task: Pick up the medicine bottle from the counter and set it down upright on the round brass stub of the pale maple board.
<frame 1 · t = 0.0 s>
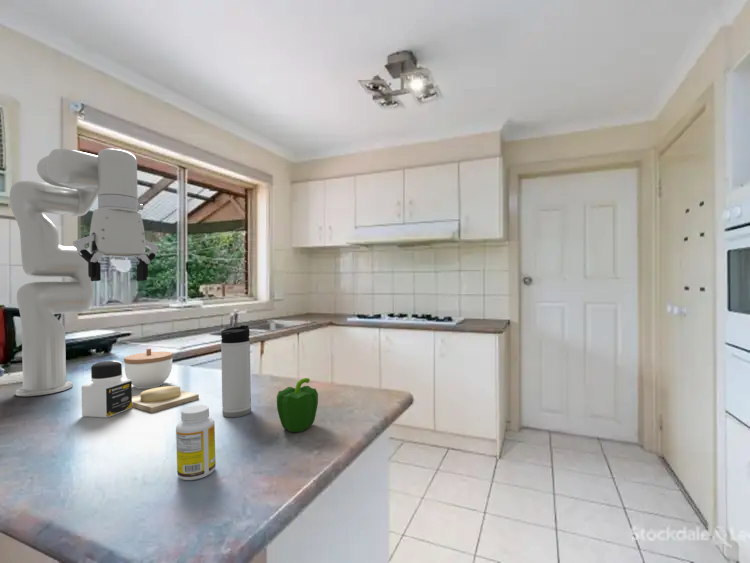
hand: (119, 280, 88), 31 cm above the table, tool pointing down, fingers open, 9 cm apart
lidded bowl: (149, 386, 115), on the table
bell pepper: (298, 429, 79), on the table
board: (161, 401, 99), on the table
travel mug: (237, 413, 89), on the table
supplement bottle: (196, 474, 61), on the table
medicine bottle: (107, 413, 91), on the table
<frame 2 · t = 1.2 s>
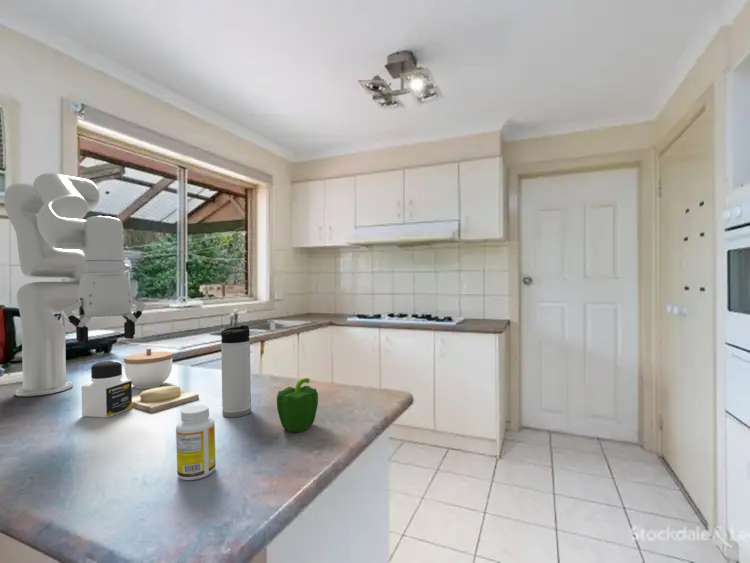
hand: (107, 341, 91), 17 cm above the table, tool pointing down, fingers open, 9 cm apart
nothing on the table moved.
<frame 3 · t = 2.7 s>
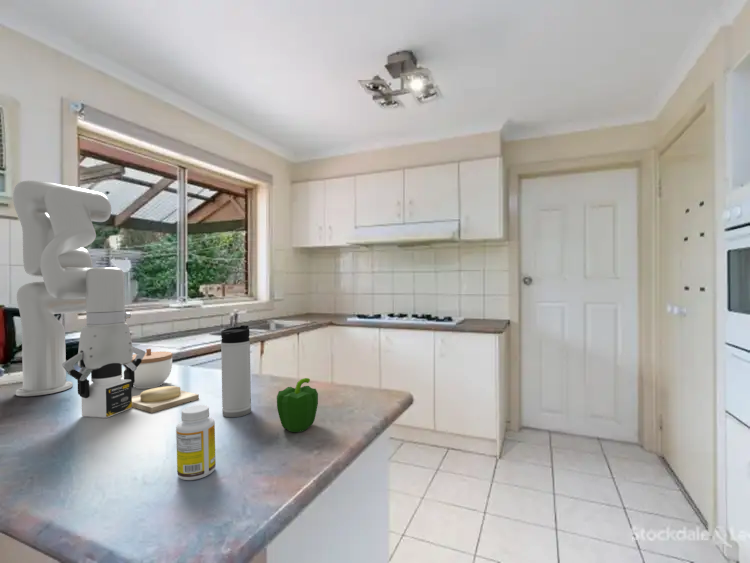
hand: (107, 391, 91), 5 cm above the table, tool pointing down, fingers closed on medicine bottle, 9 cm apart
medicine bottle: (107, 413, 91), on the table, touching gripper
everything else where it was.
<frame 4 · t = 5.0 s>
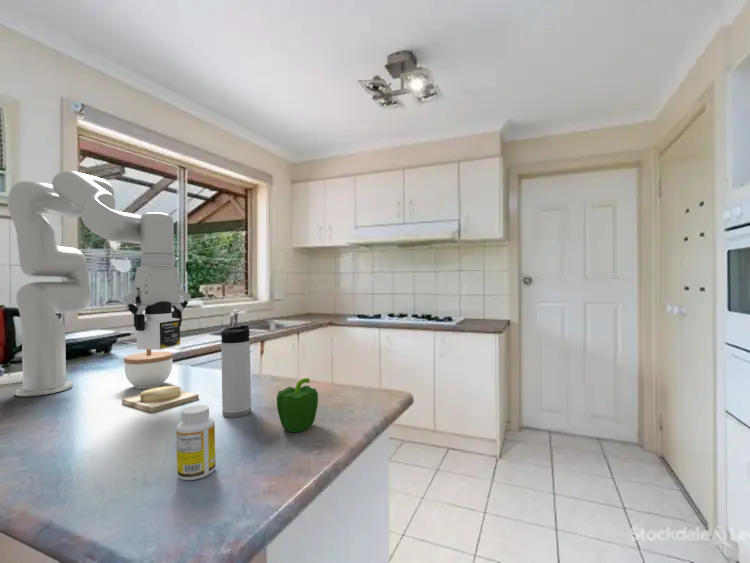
hand: (159, 328, 99), 19 cm above the table, tool pointing down, fingers closed on medicine bottle, 8 cm apart
medicine bottle: (159, 348, 99), point 14 cm above the table, touching gripper
everything else where it was.
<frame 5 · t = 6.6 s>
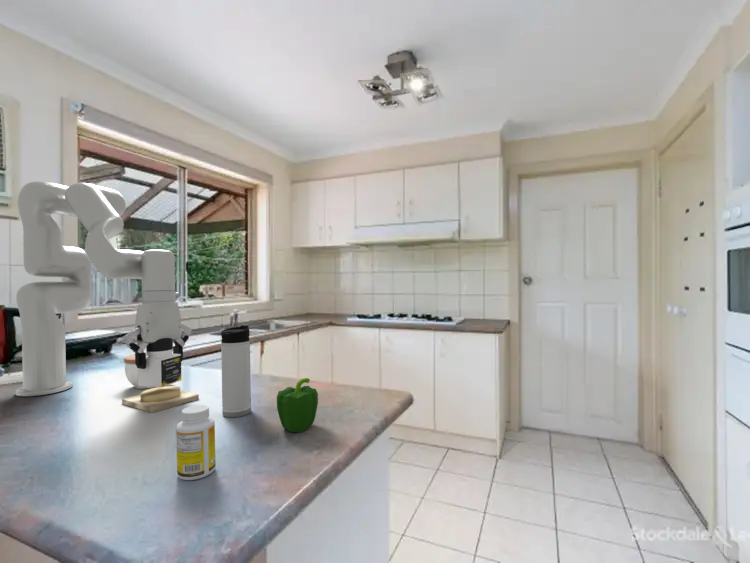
hand: (160, 364, 99), 10 cm above the table, tool pointing down, fingers closed on medicine bottle, 8 cm apart
medicine bottle: (160, 384, 99), point 4 cm above the table, touching gripper
everything else where it was.
when the fingers open (8 cm above the table, at t = 7.5 s): medicine bottle stays where it is, resting on board.
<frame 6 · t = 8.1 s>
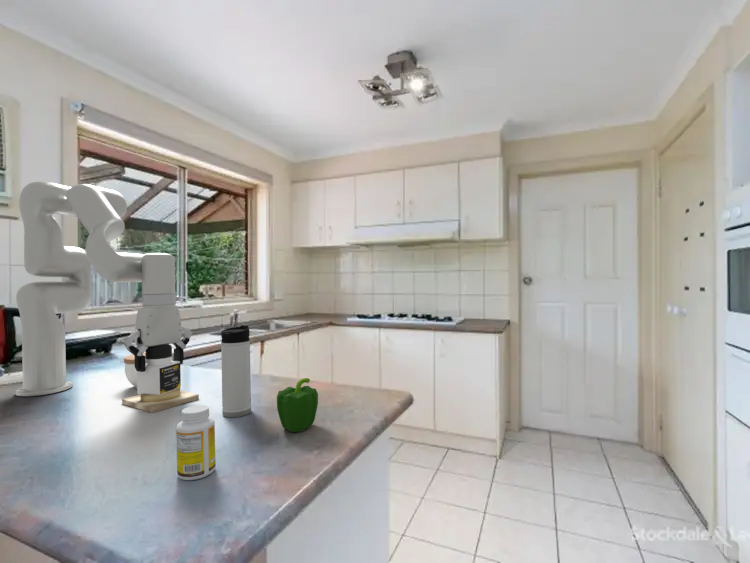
hand: (160, 367, 99), 9 cm above the table, tool pointing down, fingers open, 9 cm apart
medicine bottle: (159, 391, 99), point 3 cm above the table, touching board
everything else where it was.
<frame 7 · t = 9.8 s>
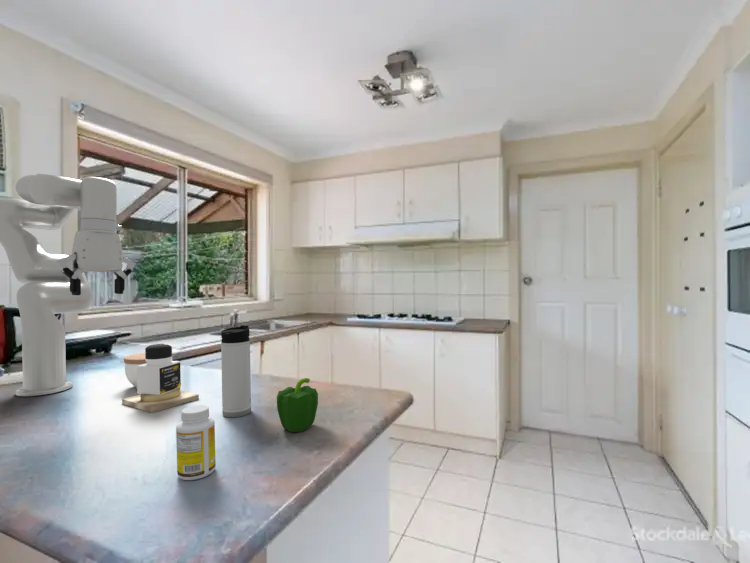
hand: (98, 294, 98), 28 cm above the table, tool pointing down, fingers open, 9 cm apart
nothing on the table moved.
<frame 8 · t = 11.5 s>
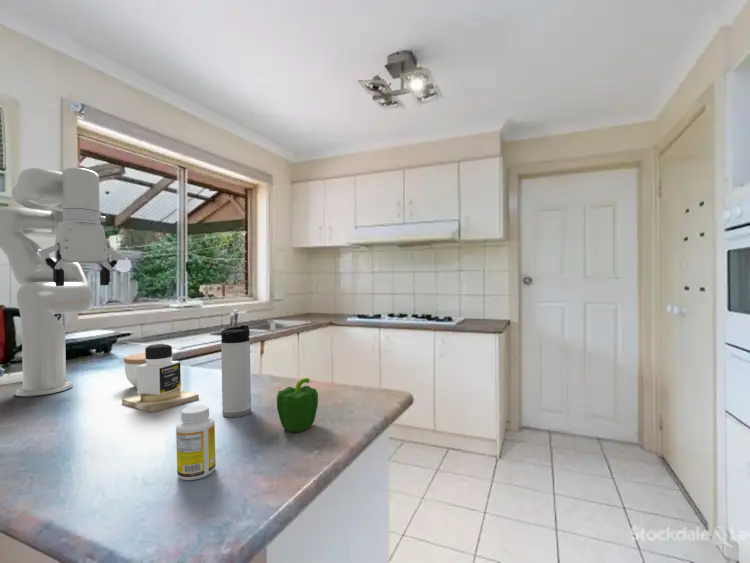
hand: (83, 285, 98), 30 cm above the table, tool pointing down, fingers open, 9 cm apart
nothing on the table moved.
at the end: medicine bottle inside the target area on the board (0.3 cm from its centre), point 2.5 cm above the board's base; medicine bottle tilted 0°; the gripper is holding nothing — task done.
